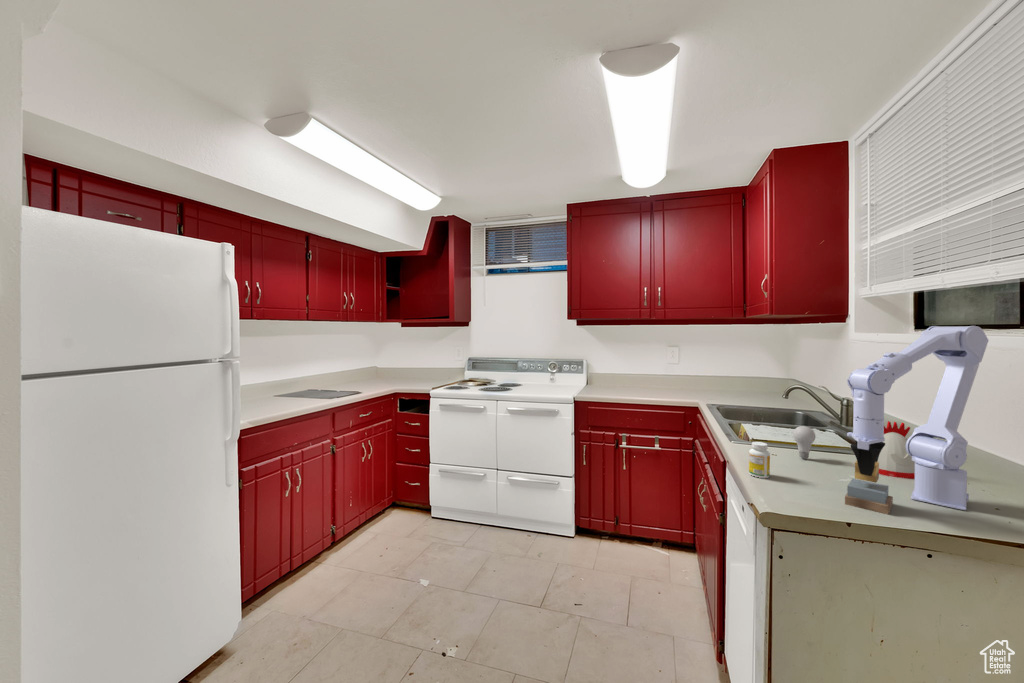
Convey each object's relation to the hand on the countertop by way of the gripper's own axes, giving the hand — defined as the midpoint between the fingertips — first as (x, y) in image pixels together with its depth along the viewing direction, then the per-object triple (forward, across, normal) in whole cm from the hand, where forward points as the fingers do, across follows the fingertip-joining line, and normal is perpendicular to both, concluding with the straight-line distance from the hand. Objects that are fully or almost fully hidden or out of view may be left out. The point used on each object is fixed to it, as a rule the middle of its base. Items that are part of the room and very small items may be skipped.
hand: (867, 472), depth 103 cm
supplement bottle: (+8, -3, -25) cm, 26 cm away
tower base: (+8, 0, 0) cm, 8 cm away
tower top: (+6, 0, 0) cm, 6 cm away
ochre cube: (+2, 0, 0) cm, 2 cm away
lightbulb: (+8, -30, -20) cm, 37 cm away
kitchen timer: (+8, -36, +1) cm, 37 cm away
